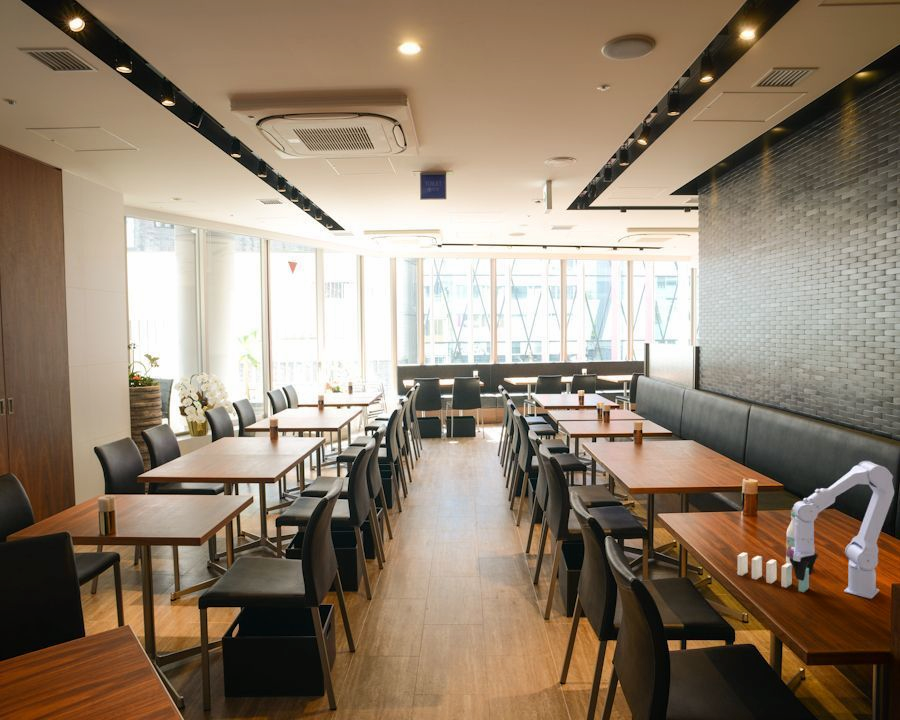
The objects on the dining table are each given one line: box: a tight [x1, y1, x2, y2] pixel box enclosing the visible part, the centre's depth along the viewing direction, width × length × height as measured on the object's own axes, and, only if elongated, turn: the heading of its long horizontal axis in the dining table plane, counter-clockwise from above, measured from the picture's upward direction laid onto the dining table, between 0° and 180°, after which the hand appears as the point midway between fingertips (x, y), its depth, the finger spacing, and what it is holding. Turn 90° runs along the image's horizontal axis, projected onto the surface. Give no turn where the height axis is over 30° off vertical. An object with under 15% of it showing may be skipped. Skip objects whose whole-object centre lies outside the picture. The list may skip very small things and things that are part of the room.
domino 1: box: [736, 551, 749, 576], centre depth 226 cm, size 5×2×7 cm, turn 132°
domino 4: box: [780, 562, 793, 588], centre depth 215 cm, size 5×2×7 cm, turn 132°
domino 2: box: [751, 555, 763, 580], centre depth 222 cm, size 5×2×7 cm, turn 132°
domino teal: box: [798, 568, 810, 593], centre depth 211 cm, size 5×2×7 cm, turn 132°
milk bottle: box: [785, 510, 795, 567], centre depth 234 cm, size 8×8×20 cm
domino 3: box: [765, 558, 778, 584], centre depth 219 cm, size 5×2×7 cm, turn 132°
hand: (803, 576), depth 211 cm, fingers open, 7 cm apart
